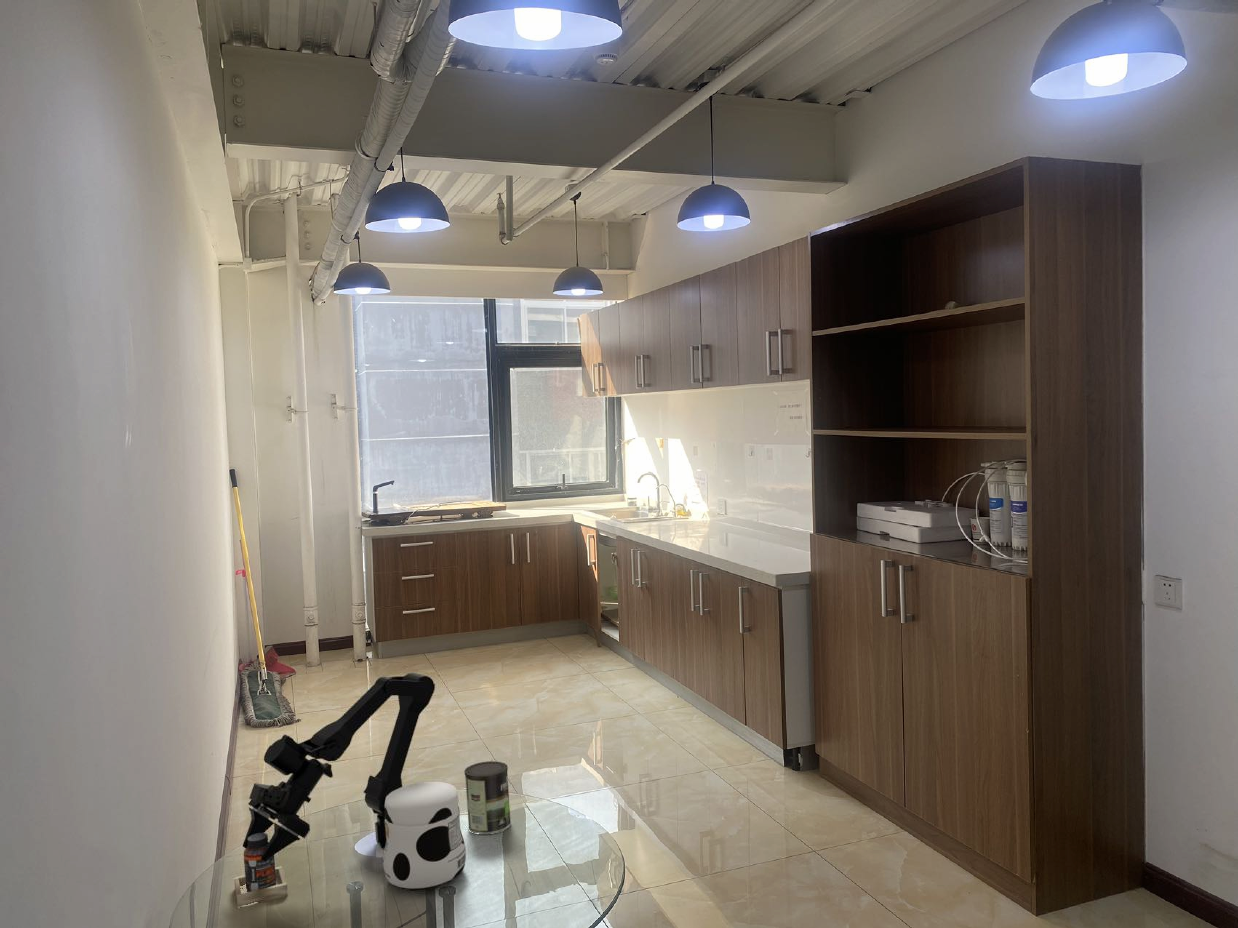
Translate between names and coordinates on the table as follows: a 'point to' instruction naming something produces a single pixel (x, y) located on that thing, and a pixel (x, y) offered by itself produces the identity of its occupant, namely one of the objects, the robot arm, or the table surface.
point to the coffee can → (487, 797)
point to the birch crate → (261, 890)
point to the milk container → (423, 836)
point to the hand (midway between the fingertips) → (253, 853)
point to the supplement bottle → (258, 864)
